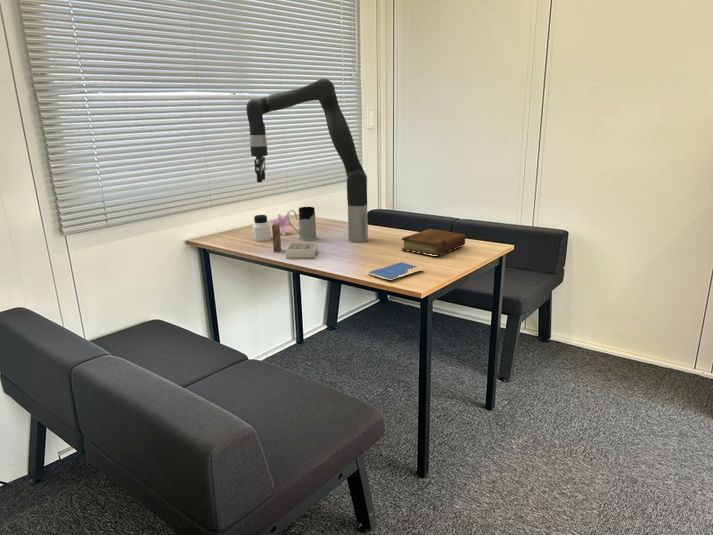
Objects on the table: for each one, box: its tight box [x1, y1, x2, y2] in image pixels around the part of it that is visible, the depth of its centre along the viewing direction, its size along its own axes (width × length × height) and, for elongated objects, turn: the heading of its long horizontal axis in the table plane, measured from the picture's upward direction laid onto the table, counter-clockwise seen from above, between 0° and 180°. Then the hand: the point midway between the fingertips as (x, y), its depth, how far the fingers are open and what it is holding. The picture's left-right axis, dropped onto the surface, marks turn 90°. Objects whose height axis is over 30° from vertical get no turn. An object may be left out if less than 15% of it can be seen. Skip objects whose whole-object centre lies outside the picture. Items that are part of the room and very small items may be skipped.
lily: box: [268, 213, 294, 236], centre depth 255 cm, size 12×12×10 cm
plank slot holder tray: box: [284, 241, 319, 260], centre depth 218 cm, size 12×12×4 cm
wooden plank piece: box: [271, 224, 282, 253], centre depth 223 cm, size 2×4×12 cm, turn 177°
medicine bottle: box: [252, 214, 272, 242], centre depth 243 cm, size 7×7×12 cm
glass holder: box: [286, 206, 318, 242], centre depth 243 cm, size 9×14×15 cm, turn 78°
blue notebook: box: [367, 261, 418, 280], centre depth 194 cm, size 19×13×1 cm, turn 132°
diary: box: [401, 228, 466, 257], centre depth 225 cm, size 23×19×6 cm
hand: (261, 181), depth 235 cm, fingers open, 8 cm apart
